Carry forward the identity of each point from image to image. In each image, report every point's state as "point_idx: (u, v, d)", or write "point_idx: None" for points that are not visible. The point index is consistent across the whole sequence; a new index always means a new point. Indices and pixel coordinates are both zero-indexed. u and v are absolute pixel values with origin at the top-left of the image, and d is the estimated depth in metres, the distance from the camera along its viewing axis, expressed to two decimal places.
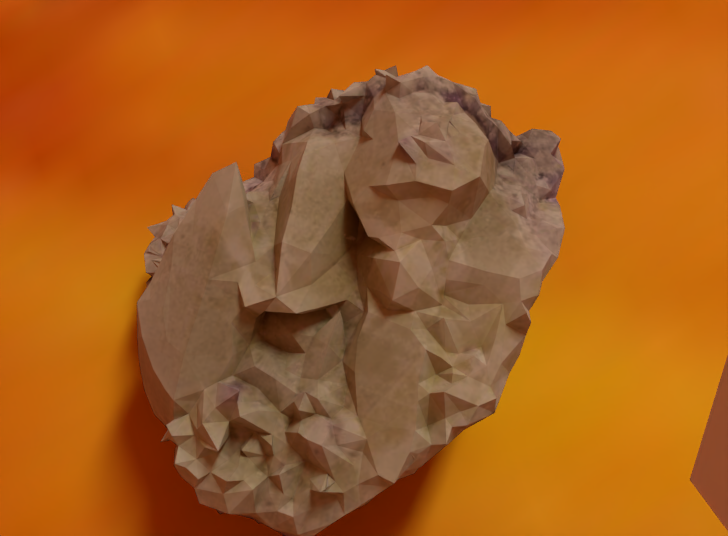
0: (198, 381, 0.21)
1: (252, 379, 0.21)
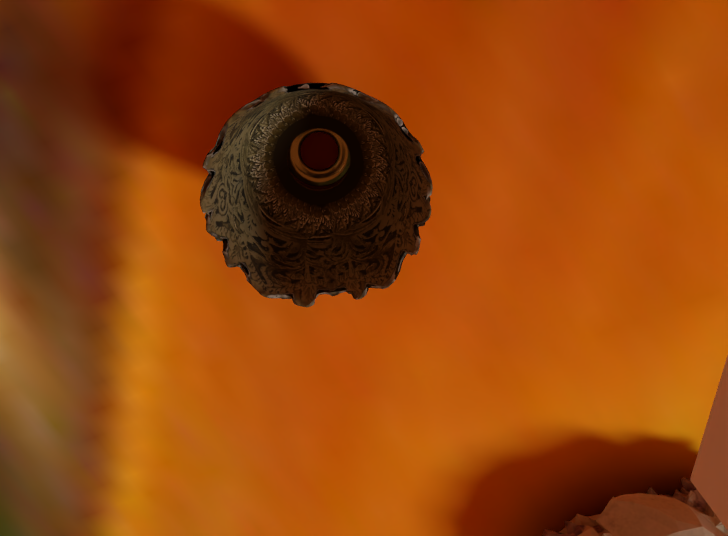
0: None
1: None
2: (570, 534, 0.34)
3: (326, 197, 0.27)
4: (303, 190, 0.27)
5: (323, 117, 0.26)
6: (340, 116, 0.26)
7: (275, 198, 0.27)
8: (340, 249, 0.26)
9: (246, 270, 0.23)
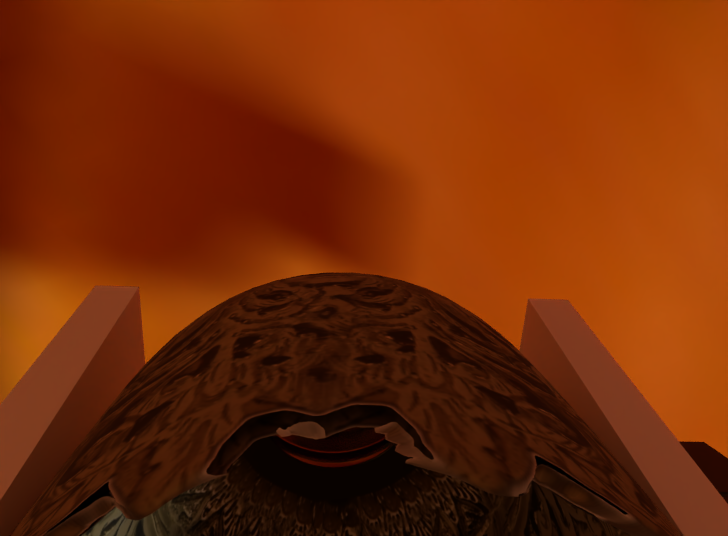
0: None
1: None
2: None
3: (351, 483, 0.12)
4: (297, 468, 0.12)
5: None
6: None
7: (230, 498, 0.11)
8: None
9: None
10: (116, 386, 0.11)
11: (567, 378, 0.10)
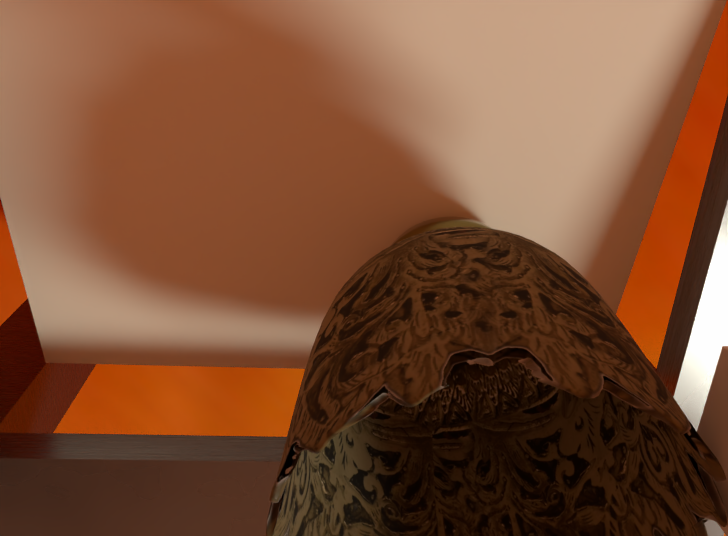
0: None
1: None
2: None
3: None
4: None
5: None
6: None
7: None
8: (490, 467, 0.16)
9: None
10: None
11: None
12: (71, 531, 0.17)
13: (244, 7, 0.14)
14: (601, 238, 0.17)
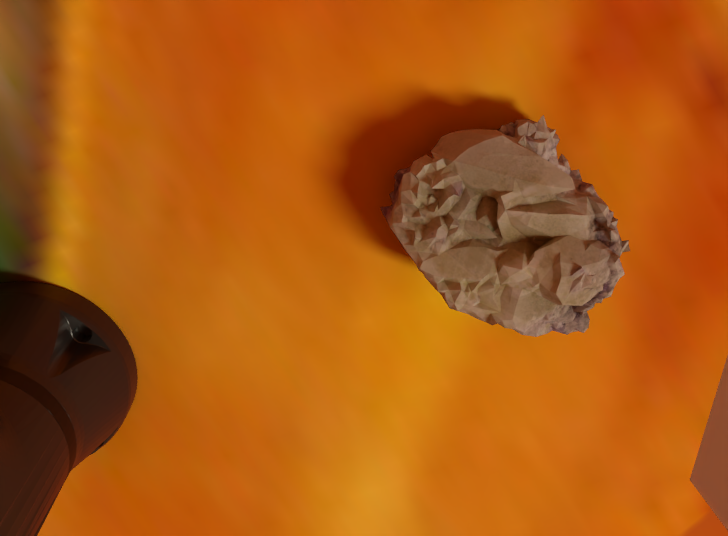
0: (462, 172, 0.42)
1: (463, 197, 0.43)
2: None
3: None
4: None
5: None
6: None
7: None
8: None
9: None
10: None
11: None
12: None
13: None
14: None
